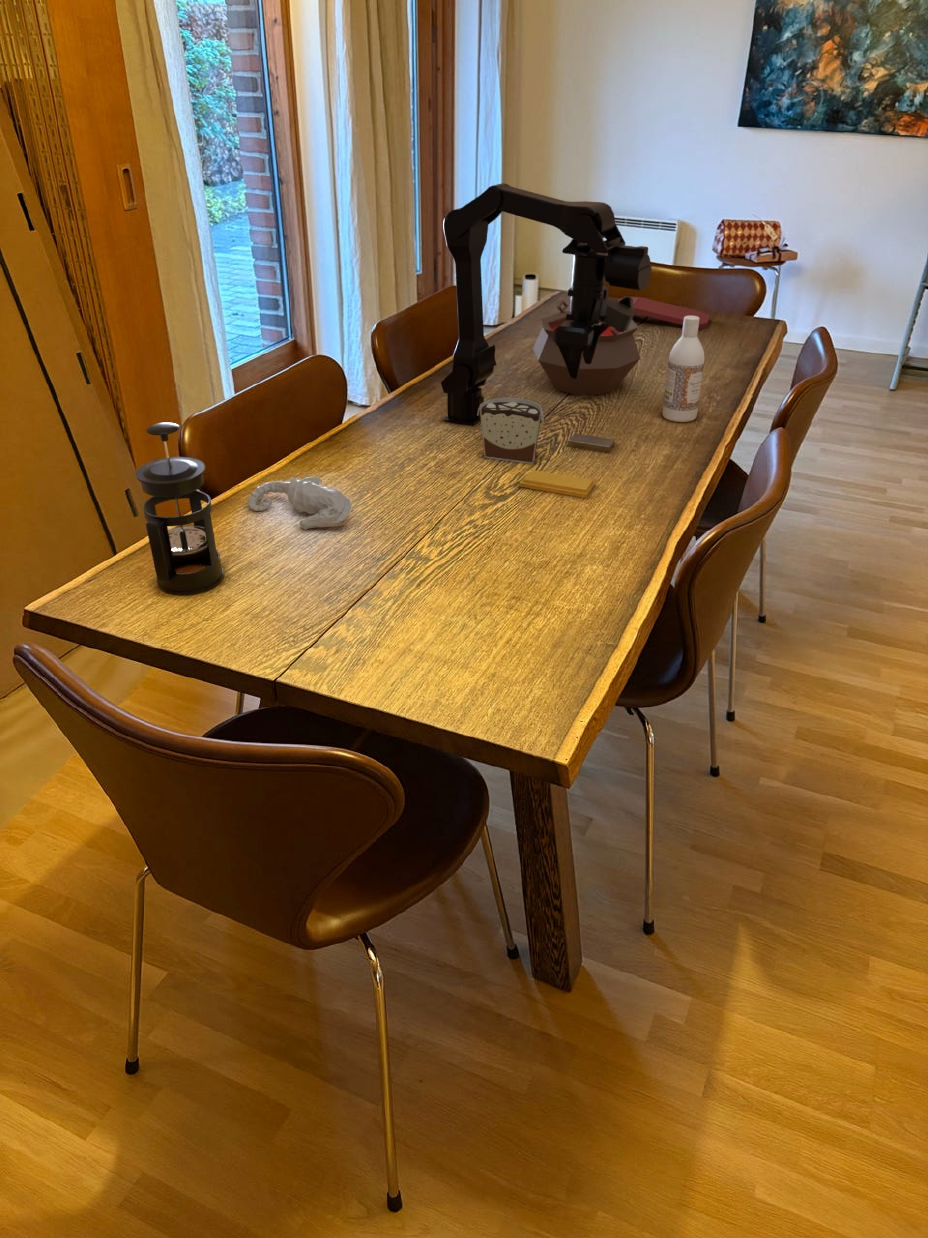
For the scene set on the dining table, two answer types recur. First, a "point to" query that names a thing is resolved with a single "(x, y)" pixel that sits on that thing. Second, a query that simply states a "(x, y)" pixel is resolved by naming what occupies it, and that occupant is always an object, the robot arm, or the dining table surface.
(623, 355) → the brown faceted pot
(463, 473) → the dining table surface
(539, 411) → the food container
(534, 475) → the yellow brown rectangular slab
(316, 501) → the seahorse
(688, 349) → the bath foam
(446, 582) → the dining table surface
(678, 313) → the dark red bevelled block
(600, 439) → the silver flat block
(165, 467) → the french press
